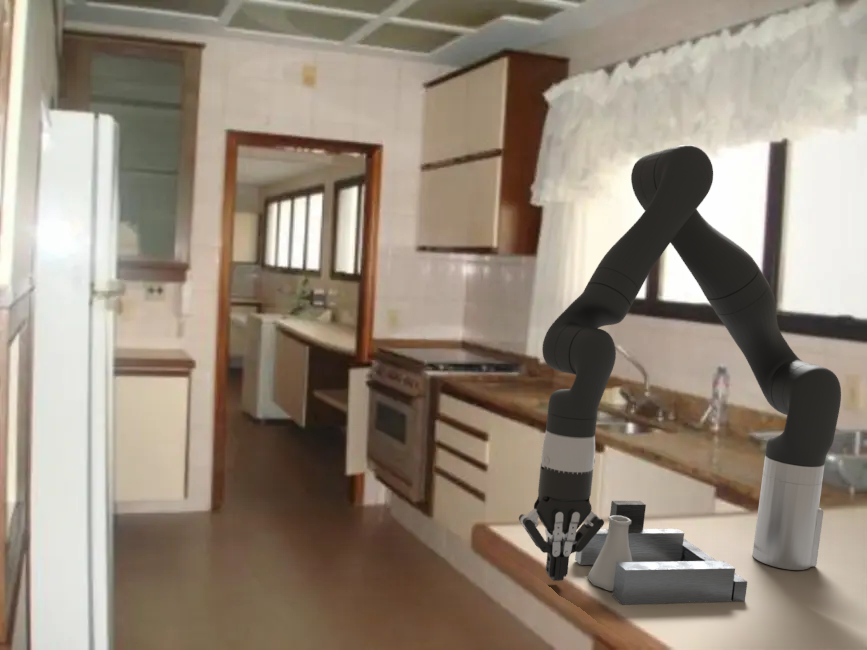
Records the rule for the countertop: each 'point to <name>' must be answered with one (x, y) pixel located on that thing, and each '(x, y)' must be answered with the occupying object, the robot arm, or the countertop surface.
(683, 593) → the vise fixed
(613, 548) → the flask
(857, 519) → the countertop surface
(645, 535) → the vise jaw sliding
